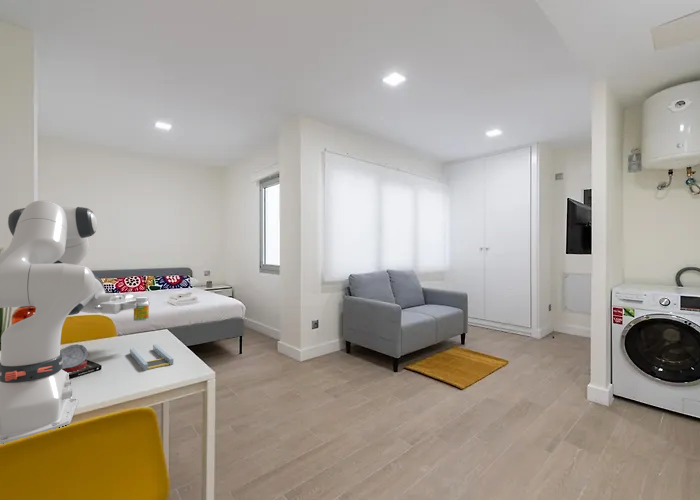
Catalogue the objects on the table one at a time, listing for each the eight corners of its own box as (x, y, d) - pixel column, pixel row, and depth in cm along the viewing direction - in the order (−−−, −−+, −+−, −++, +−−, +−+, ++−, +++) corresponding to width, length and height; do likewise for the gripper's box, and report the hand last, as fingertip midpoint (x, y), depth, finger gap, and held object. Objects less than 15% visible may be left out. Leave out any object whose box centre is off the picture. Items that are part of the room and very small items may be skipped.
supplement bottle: (135, 322, 135) (136, 298, 135) (132, 320, 138) (132, 297, 138) (150, 320, 139) (150, 297, 139) (146, 318, 142) (146, 296, 142)
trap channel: (173, 364, 121) (173, 358, 121) (144, 370, 115) (144, 364, 115) (156, 348, 138) (156, 344, 138) (129, 353, 132) (129, 348, 132)
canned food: (87, 380, 117) (101, 356, 117) (57, 389, 107) (72, 363, 107) (66, 363, 119) (79, 339, 119) (35, 370, 109) (49, 344, 109)
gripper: (91, 300, 130) (123, 301, 128) (131, 293, 150) (159, 294, 148) (91, 315, 130) (123, 317, 128) (130, 306, 150) (158, 307, 149)
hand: (142, 304), depth 139 cm, fingers closed on supplement bottle, 5 cm apart
